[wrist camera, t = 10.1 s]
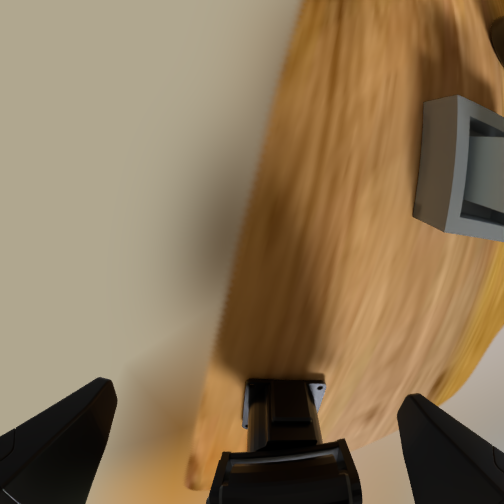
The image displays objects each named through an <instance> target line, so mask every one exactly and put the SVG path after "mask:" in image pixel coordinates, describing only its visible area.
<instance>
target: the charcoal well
mask: <svg viewBox="0 0 504 504" xmlns="http://www.w3.org/2000/svg"><path fill="white" fill-rule="evenodd" d="M469 136H472V137H504V117H502V116H500V115H498V114H497V113H495V112H493V111H491V110H489V109H487V108H485V107H483V106H481V105H479V104H477V103H475V102H473V101H471V100H468V99H466V98H464V97H462V96H460V95H453V96H449V97H444V98H440V99H435V100H431V101H427V102H424V109H423V132H422V147H421V158H420V168H419V177H418V185H417V192H416V199H415V205H414V211H413V217H414V218H416V219H418V220H420V221H423V222H425V223H427V224H429V225H431V226H433V227H435V228H437V229H439V230H441V231H443V232H446V233H452V234H459V235H465V236H471V237H477V238H483V239H489V240H495V241H501V242H504V213H502V212H500V211H497V210H494V209H491V208H488V207H485V206H482V205H479V204H476V203H473V202H470V201H467V200H464V199H463V195H464V188H465V180H466V171H467V161H468V149H469Z"/></svg>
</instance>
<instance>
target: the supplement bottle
mask: <svg viewBox="0 0 504 504" xmlns="http://www.w3.org/2000/svg"><path fill="white" fill-rule="evenodd" d="M491 39H492V43H493V46H494V49H495V51H496V54H497V56H498V58H499V60H500V62H501V63H502V65H503V67H504V16H501V17H499V18H496V19H495V20H494V21H493V22H492V24H491Z"/></svg>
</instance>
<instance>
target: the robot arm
mask: <svg viewBox="0 0 504 504" xmlns="http://www.w3.org/2000/svg"><path fill="white" fill-rule="evenodd" d="M250 384H254V385H250ZM319 386H321V387H319ZM325 390H326V384H325V382H324V381H321V380H269V379H249V380H247V381H246V389H245V400H244V411H243V422H242V427H243V428H245V429H248V437H247V452H236V453H231V452H223V453H222V456H221V460H219V463H218V466H217V470H216V473H215V476H214V480H213V483H212V487H211V490H210V493H209V497H208V498H207V501H206V504H362V490H361V485H360V479H359V476H358V472H357V470H356V467H355V465H354V462H353V459H352V456H351V454H350V451H349V449H348V446H347V443H346V441H345V438H344V439H339V440H337V441H335V442H329V443H324V444H323V442H322V436H321V431H320V426H319V420H318V415H317V413H318V410H319V408H320V405H321V402H322V399H323V396H324V393H325ZM116 407H117V396H116V393H115V389H114V386H113V383H112V381H111V380H109V379H105V378H102V377H99V378H96V379H95V380H93V381H92V382H90V383H88V384H87V385H85V386H84V387H82V388H80V389H79V390H77V391H76V392H74V393H72V394H71V395H69V396H67V397H66V398H64V399H62V400H61V401H59V402H57V403H56V404H54V405H53V406H51V407H49V408H48V409H46V410H45V411H43V412H41V413H39V414H38V415H36V416H34V417H33V418H31V419H29V420H28V421H26V422H24V423H23V424H21V425H19V426H18V427H16V429H13V430H11V431H9V432H7V433H6V434H4V435H2V436H0V504H85V503H86V500H87V497H88V494H89V491H90V488H91V486H92V482H93V480H94V477H95V474H96V472H97V469H98V466H99V463H100V461H101V458H102V455H103V453H104V450H105V447H106V444H107V441H108V437H109V433H110V429H111V425H112V421H113V418H114V414H115V410H116ZM397 420H398V426H399V431H400V437H401V444H402V450H403V455H404V460H405V464H406V468H407V471H408V476H409V480H410V484H411V488H412V492H413V496H414V501H415V504H504V453H503V452H502V451H500V450H499V449H497V448H496V447H494V446H492V445H491V444H490V443H488V442H487V441H486V440H484V439H483V438H481V437H480V436H479V435H477V434H476V433H474V432H473V431H471V430H470V429H469V428H467V427H466V426H464V425H463V424H461V423H460V422H459V421H457V420H455V419H454V418H453V417H451V416H450V415H449V414H447V413H446V412H444V411H443V410H442V409H440V408H439V407H438V406H436V405H435V404H433V403H432V402H431V401H429V400H428V399H426V398H425V397H424V396H422V395H421V394H419V393H415V394H409V395H407V396H406V398H405V399H404V401H403V403H402V405H401V407H400V409H399V410H398V413H397Z"/></svg>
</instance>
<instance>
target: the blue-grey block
mask: <svg viewBox="0 0 504 504" xmlns="http://www.w3.org/2000/svg"><path fill="white" fill-rule="evenodd" d="M463 199H464V200H467V201H470V202H473V203H476V204H479V205H482V206H485V207H488V208H491V209H494V210H497V211H500V212H502V213H504V137H472V136H469V149H468V161H467V171H466V180H465V188H464V195H463Z"/></svg>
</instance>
